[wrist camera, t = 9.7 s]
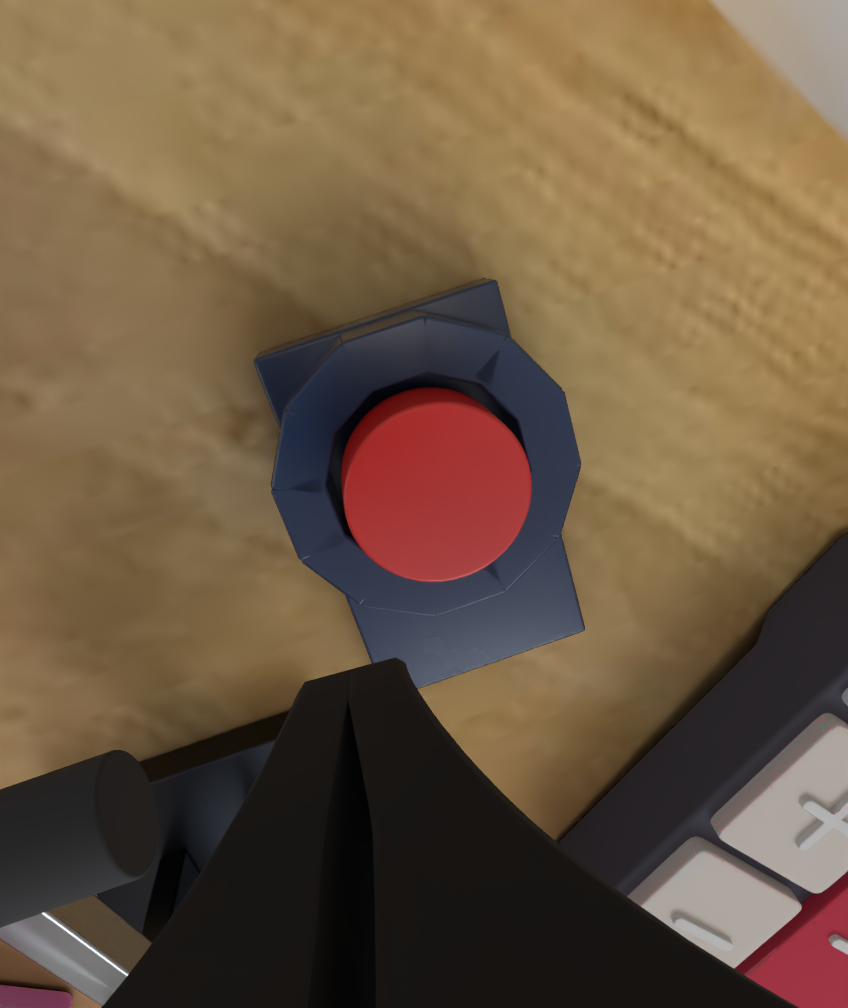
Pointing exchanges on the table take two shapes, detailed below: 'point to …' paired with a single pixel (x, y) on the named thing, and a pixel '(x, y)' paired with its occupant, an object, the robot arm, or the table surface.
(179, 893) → the bracket
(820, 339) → the table surface
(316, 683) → the robot arm
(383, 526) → the button
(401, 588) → the control block
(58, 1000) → the gum box
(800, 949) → the calculator
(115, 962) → the lever
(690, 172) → the table surface
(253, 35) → the table surface
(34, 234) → the table surface
